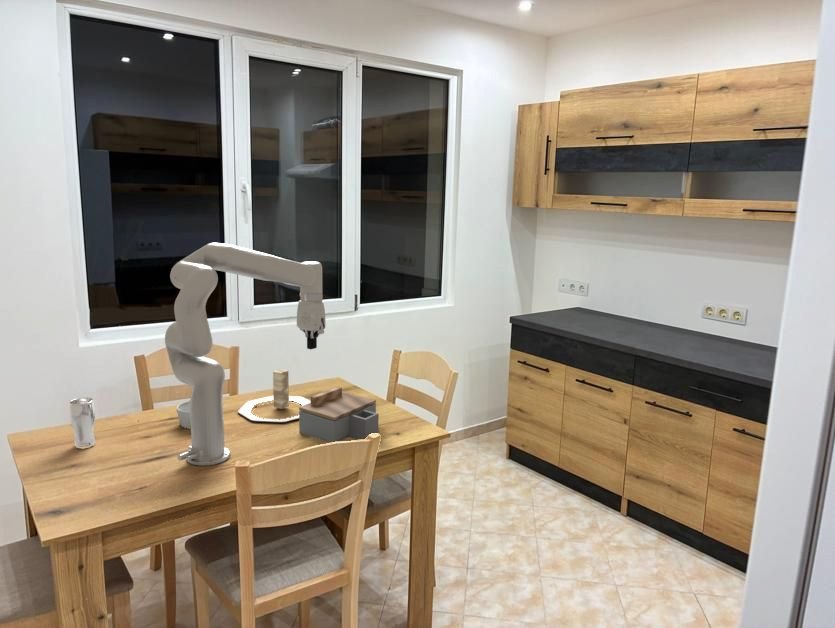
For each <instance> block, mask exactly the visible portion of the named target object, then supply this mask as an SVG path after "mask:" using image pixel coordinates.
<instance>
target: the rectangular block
mask: <svg viewBox="0 0 835 628" xmlns="http://www.w3.org/2000/svg"><path fill="white" fill-rule="evenodd" d="M289 378H290V377H289V370H288V369H287V370H286V369H282V368H279V369H277V370H272V382H273V383H272V385H273V387H272V388H273V390H272V391H273V392H272V393H273V395H272V396H274V402H273V408H276V409H279V410H283V409H285V408H287V407H289V406H290V402H289V396H290V394H289V393H290V392H289V391H290V389H289V388H290V387H289Z"/></svg>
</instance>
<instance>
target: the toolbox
mask: <svg viewBox="0 0 835 628" xmlns="http://www.w3.org/2000/svg"><path fill="white" fill-rule="evenodd" d="M379 414H380V413H377V402H376V403H374V404H372V405H369V406H367V407H365V408H363V409H360V410H358V411H356V412H353V413H351V414H349V415H346V416H344V417H342V418H339V419H337V420H335V421H334V420H331V419H327V418H324V417H321V416H317V415H314V414H311V413H308V412H304V411H301V410H299V411H298V415H299V419H298V420H299V421H298V422H299V434H301V433H302V435H304V434H306V435H305V436H307V435H309V436H308V437H310V436H311V438H313V437H314V439H316V438H317V440H319V439H320V441H323V442H326V443H329V442H335V441H341V442H343V441H344V440H346V439H353V440H356V441H358V440H357V439H365V438H366V437H367V436H368V435H369V434H371V433H378V434H379V418H380V416H379Z"/></svg>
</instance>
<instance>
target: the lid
mask: <svg viewBox="0 0 835 628" xmlns="http://www.w3.org/2000/svg"><path fill="white" fill-rule="evenodd" d="M310 401H311V403H309V404H306V405H304V406H299V407H298V410H299V411H300V410H301V411H304V412H308V413H311V414H314V415H317V416H321V417H324V418H327V419H331V420H334V421H335V420H337V419H339V418H342V417H344V416H346V415H349V414H351V413H353V412H356V411H358V410H360V409H363V408H365V407H367V406H369V405H372V404H374V403H376V404H377V400H376V399H374V398H370V397H366V396H363V395H359V394H354V393H350V392H347V391H343V387H341V386H335V387H333V388H330V389H328V390H325V391H322V392H320V393H316V394H315V395H311V396H310Z"/></svg>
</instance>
